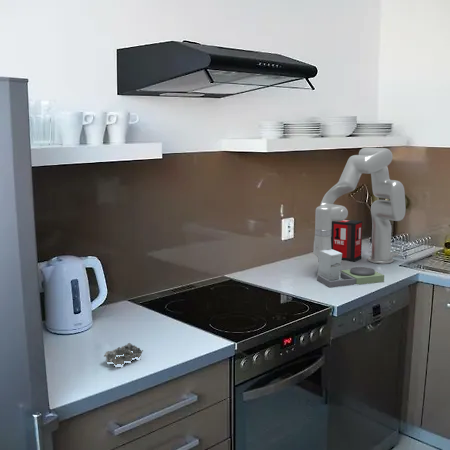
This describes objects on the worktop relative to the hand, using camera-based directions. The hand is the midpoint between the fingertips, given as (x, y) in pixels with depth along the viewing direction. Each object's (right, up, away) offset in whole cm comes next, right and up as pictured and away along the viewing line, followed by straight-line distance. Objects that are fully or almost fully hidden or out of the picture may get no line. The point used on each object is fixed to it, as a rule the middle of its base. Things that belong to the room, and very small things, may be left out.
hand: (322, 271), depth 261 cm
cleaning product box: (+16, +4, +32) cm, 36 cm away
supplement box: (+2, -3, -6) cm, 7 cm away
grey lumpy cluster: (-77, -20, -91) cm, 121 cm away
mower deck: (+11, -3, -9) cm, 15 cm away
